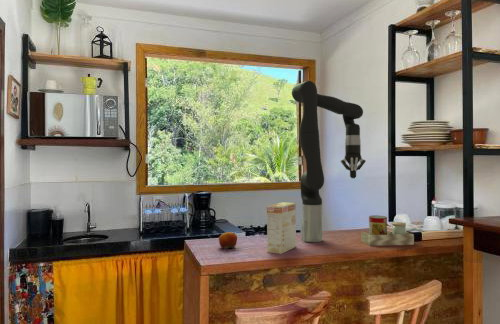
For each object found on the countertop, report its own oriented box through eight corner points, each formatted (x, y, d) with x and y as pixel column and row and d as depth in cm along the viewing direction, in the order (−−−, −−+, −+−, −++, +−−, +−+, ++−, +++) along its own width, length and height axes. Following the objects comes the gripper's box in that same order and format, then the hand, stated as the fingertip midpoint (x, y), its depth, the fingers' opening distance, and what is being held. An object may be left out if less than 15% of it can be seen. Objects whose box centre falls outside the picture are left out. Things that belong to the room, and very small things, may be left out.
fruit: (225, 248, 155) (221, 230, 158) (219, 254, 161) (215, 237, 164) (242, 246, 158) (238, 228, 162) (235, 252, 164) (231, 235, 168)
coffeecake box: (282, 245, 166) (281, 201, 166) (296, 246, 162) (296, 202, 163) (266, 252, 153) (266, 205, 153) (281, 254, 150) (281, 206, 150)
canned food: (389, 244, 166) (389, 217, 166) (372, 244, 166) (372, 217, 166) (383, 240, 174) (383, 215, 174) (366, 240, 174) (366, 215, 174)
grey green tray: (369, 245, 164) (369, 235, 164) (361, 240, 174) (361, 231, 174) (413, 244, 165) (413, 234, 165) (403, 240, 175) (403, 230, 175)
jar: (395, 243, 167) (395, 224, 167) (390, 241, 173) (390, 222, 173) (408, 243, 167) (408, 223, 167) (402, 241, 173) (402, 221, 173)
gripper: (342, 144, 185) (342, 178, 185) (368, 144, 186) (368, 178, 186) (338, 144, 193) (338, 178, 192) (362, 144, 193) (363, 177, 193)
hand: (353, 178), depth 189 cm, fingers closed
